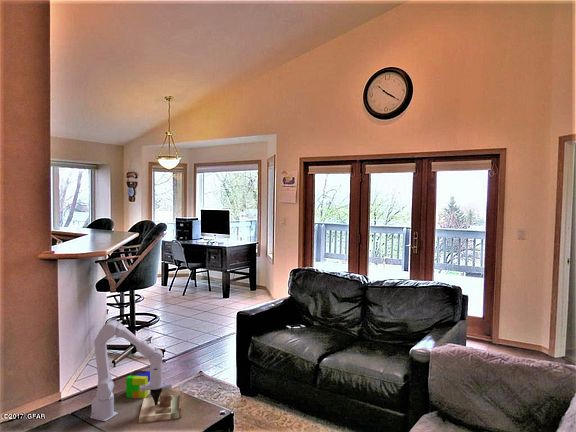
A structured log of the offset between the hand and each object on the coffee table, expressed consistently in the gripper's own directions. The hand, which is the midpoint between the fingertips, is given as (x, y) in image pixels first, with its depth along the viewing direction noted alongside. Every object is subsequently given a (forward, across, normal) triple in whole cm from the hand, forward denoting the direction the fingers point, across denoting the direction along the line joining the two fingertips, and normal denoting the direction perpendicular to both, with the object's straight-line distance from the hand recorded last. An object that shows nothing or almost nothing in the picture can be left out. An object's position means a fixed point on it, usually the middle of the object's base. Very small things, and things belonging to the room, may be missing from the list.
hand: (156, 404), depth 194 cm
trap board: (+3, -3, 0) cm, 4 cm away
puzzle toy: (+4, +10, -22) cm, 24 cm away
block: (+1, -4, 0) cm, 4 cm away
